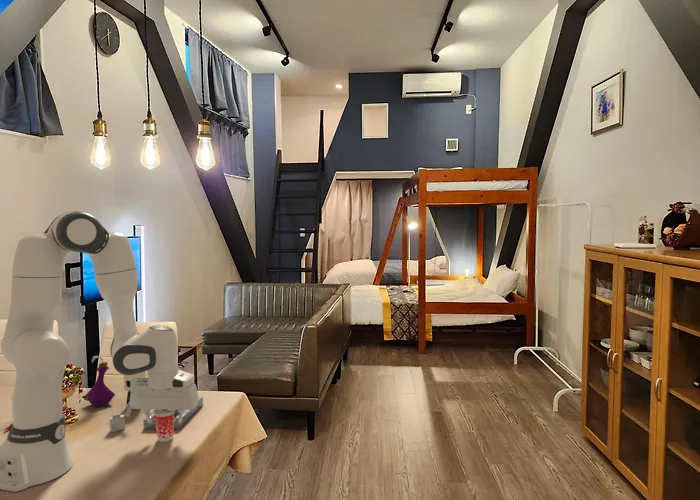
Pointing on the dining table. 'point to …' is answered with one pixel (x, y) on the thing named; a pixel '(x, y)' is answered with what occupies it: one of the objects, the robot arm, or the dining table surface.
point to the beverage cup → (164, 424)
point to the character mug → (128, 380)
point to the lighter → (119, 420)
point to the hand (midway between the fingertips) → (164, 422)
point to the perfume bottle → (100, 387)
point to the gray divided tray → (185, 417)
